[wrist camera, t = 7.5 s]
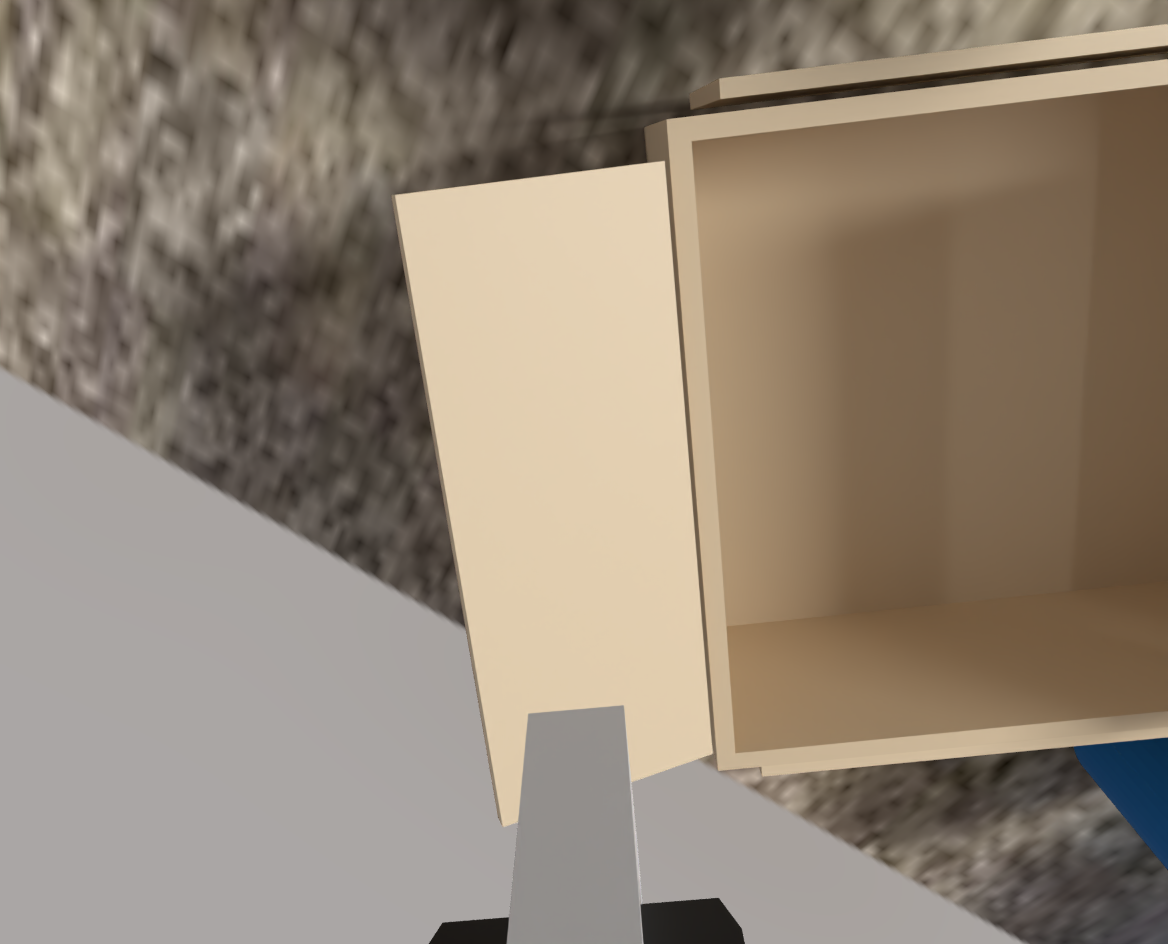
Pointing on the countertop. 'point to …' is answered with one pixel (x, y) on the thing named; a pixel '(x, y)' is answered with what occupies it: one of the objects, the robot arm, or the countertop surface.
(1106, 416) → the carton
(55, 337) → the countertop surface
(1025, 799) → the countertop surface
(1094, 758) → the beverage can
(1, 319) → the countertop surface
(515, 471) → the flap
